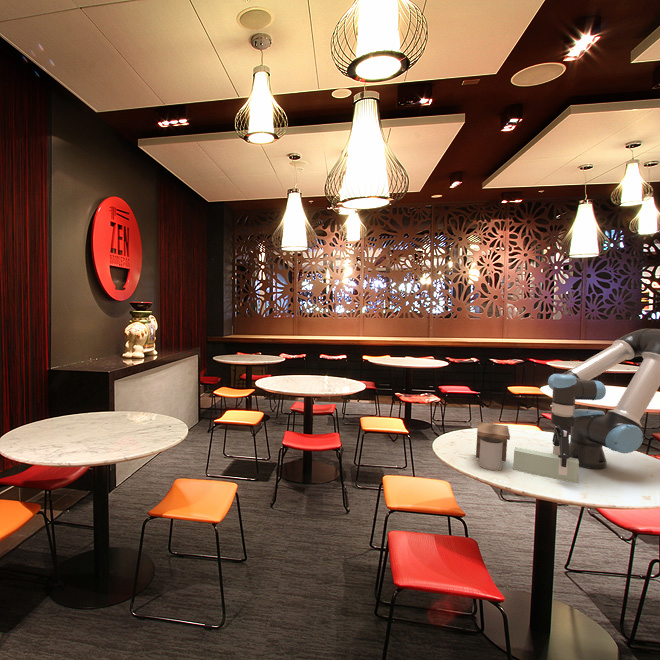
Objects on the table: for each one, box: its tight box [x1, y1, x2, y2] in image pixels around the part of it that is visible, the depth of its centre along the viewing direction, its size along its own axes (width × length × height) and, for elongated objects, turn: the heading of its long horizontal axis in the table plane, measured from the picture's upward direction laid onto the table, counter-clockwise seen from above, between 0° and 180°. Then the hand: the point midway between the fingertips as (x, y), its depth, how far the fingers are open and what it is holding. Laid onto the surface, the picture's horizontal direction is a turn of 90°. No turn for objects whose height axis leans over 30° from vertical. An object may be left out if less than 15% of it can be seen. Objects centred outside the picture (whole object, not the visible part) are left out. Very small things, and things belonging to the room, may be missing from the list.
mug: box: [478, 437, 503, 471], centre depth 158 cm, size 12×8×11 cm
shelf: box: [475, 421, 511, 463], centre depth 159 cm, size 12×16×15 cm
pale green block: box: [512, 447, 580, 484], centre depth 151 cm, size 22×5×8 cm, turn 59°
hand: (559, 468), depth 149 cm, fingers open, 13 cm apart
